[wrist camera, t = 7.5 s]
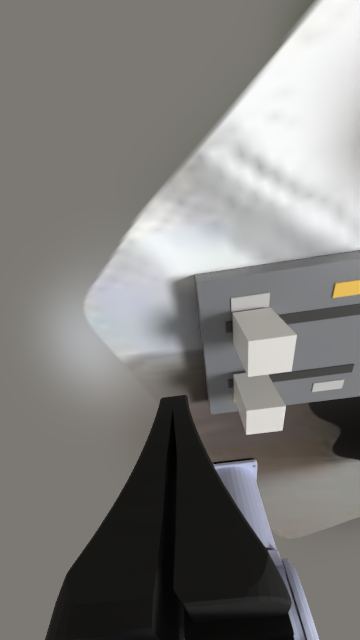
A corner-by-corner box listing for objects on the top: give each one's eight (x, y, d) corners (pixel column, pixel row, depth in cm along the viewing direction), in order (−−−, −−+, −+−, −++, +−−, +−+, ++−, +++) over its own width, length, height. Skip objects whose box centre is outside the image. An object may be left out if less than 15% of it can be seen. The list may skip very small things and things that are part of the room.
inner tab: (264, 393, 21) (282, 430, 18) (234, 396, 21) (246, 434, 18) (265, 370, 20) (285, 406, 16) (233, 374, 20) (246, 410, 16)
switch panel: (347, 382, 24) (362, 396, 22) (208, 399, 25) (210, 415, 23) (392, 245, 17) (418, 250, 15) (194, 274, 18) (197, 283, 16)
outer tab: (268, 338, 18) (291, 371, 15) (233, 343, 18) (247, 377, 15) (270, 307, 17) (297, 335, 13) (232, 312, 17) (248, 341, 13)
